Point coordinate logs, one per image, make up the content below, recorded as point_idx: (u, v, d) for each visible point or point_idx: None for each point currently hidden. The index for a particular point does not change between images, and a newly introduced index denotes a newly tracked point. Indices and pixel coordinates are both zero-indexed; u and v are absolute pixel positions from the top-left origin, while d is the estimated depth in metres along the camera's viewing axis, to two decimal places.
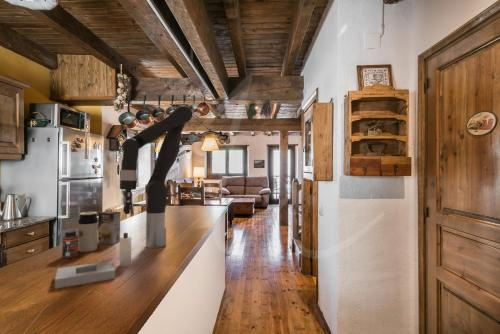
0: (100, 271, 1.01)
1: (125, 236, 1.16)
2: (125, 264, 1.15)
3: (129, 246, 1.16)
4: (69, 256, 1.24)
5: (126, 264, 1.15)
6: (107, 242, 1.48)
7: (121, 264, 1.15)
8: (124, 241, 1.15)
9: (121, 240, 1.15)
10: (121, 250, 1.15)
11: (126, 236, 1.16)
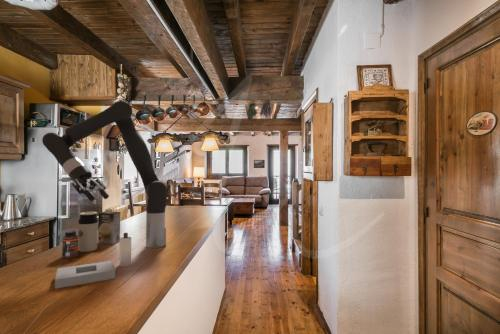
0: (100, 271, 1.01)
1: (125, 236, 1.16)
2: (125, 264, 1.15)
3: (129, 246, 1.16)
4: (69, 256, 1.24)
5: (126, 264, 1.15)
6: (107, 242, 1.48)
7: (121, 264, 1.15)
8: (124, 241, 1.15)
9: (121, 240, 1.15)
10: (121, 250, 1.15)
11: (126, 236, 1.16)
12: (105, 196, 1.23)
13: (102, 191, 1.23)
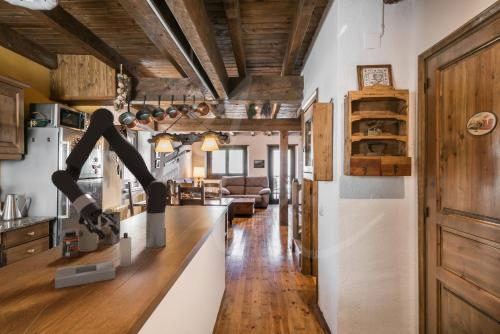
0: (100, 271, 1.01)
1: (125, 236, 1.16)
2: (125, 264, 1.15)
3: (129, 246, 1.16)
4: (69, 256, 1.24)
5: (126, 264, 1.15)
6: (107, 242, 1.48)
7: (121, 264, 1.15)
8: (124, 241, 1.15)
9: (121, 240, 1.15)
10: (121, 250, 1.15)
11: (126, 236, 1.16)
12: (116, 232, 1.22)
13: (113, 227, 1.22)
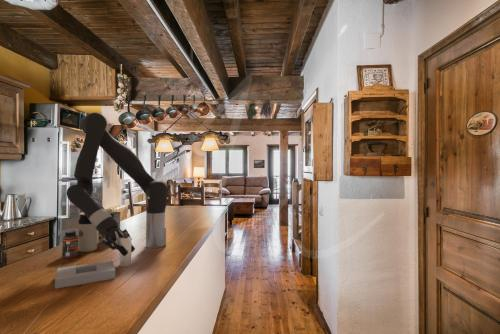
0: (100, 271, 1.01)
1: (125, 236, 1.16)
2: (125, 263, 1.15)
3: (130, 246, 1.16)
4: (69, 256, 1.24)
5: (126, 264, 1.15)
6: None
7: (121, 264, 1.15)
8: (124, 241, 1.15)
9: (121, 240, 1.15)
10: None
11: (126, 236, 1.16)
12: (131, 249, 1.19)
13: None
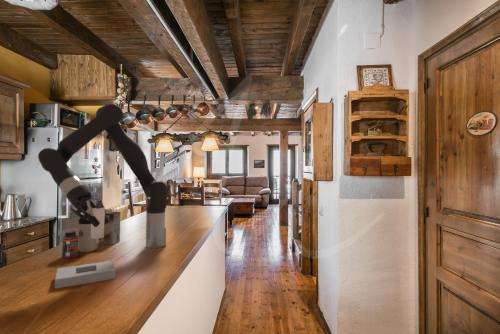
0: (100, 271, 1.01)
1: (98, 206, 1.06)
2: (97, 236, 1.05)
3: (102, 217, 1.06)
4: (69, 256, 1.24)
5: (98, 236, 1.05)
6: (107, 242, 1.48)
7: (92, 236, 1.05)
8: (96, 211, 1.05)
9: (93, 210, 1.05)
10: None
11: (99, 206, 1.07)
12: (104, 221, 1.09)
13: None
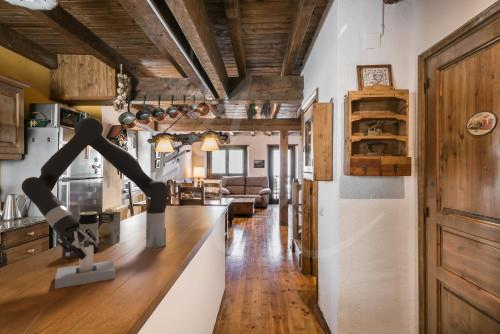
0: (100, 271, 1.01)
1: (86, 244, 1.02)
2: None
3: (91, 256, 1.02)
4: (69, 256, 1.24)
5: None
6: (107, 242, 1.48)
7: None
8: (84, 250, 1.01)
9: None
10: (81, 260, 1.01)
11: (87, 244, 1.02)
12: (95, 251, 1.06)
13: None
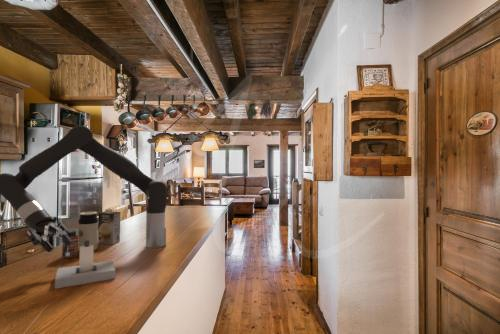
0: (100, 271, 1.01)
1: (86, 244, 1.03)
2: None
3: (91, 256, 1.02)
4: (69, 256, 1.24)
5: None
6: (107, 242, 1.48)
7: None
8: (85, 250, 1.01)
9: (81, 249, 1.01)
10: (81, 260, 1.01)
11: (87, 244, 1.03)
12: (68, 242, 1.10)
13: (64, 237, 1.10)
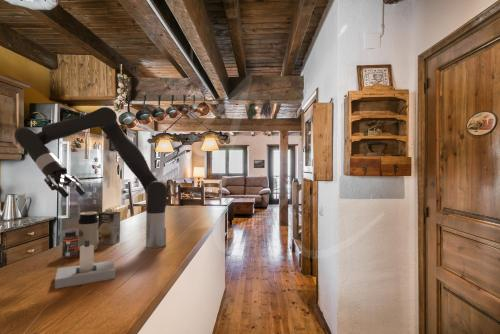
0: (100, 271, 1.01)
1: (86, 244, 1.02)
2: None
3: (91, 256, 1.02)
4: (69, 256, 1.24)
5: None
6: (107, 242, 1.48)
7: None
8: (85, 250, 1.01)
9: (81, 249, 1.01)
10: (81, 260, 1.01)
11: (87, 244, 1.03)
12: (81, 192, 1.19)
13: (78, 187, 1.19)
